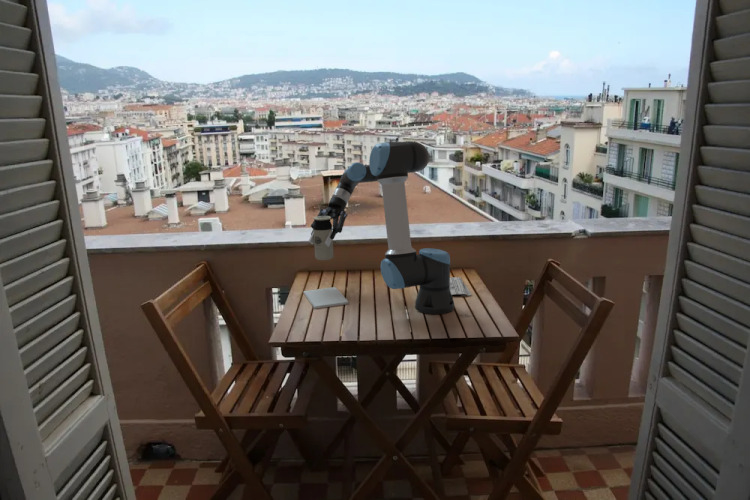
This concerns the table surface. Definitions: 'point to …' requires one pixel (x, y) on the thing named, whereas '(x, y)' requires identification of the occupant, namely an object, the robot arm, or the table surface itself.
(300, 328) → the table surface
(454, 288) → the newspaper
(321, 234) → the travel mug
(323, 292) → the placemat
